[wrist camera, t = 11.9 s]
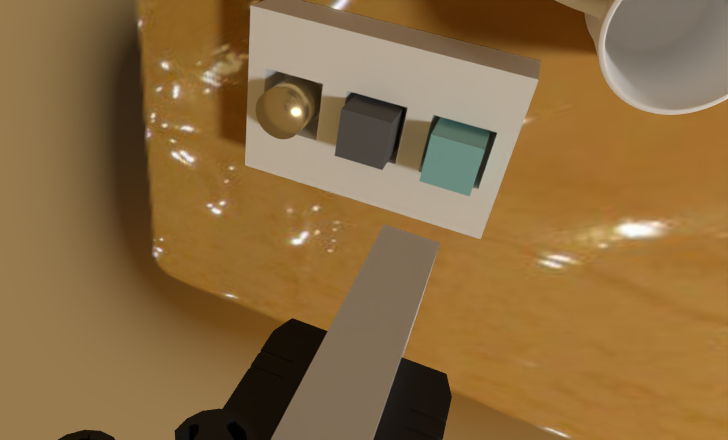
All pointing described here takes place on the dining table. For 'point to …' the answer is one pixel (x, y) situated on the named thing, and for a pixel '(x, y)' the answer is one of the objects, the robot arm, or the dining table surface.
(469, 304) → the dining table surface
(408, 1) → the dining table surface
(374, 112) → the dark grey cube
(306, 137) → the white slotted tray
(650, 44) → the mug
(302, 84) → the gold metal cylinder
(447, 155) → the teal cube
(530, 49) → the dining table surface
